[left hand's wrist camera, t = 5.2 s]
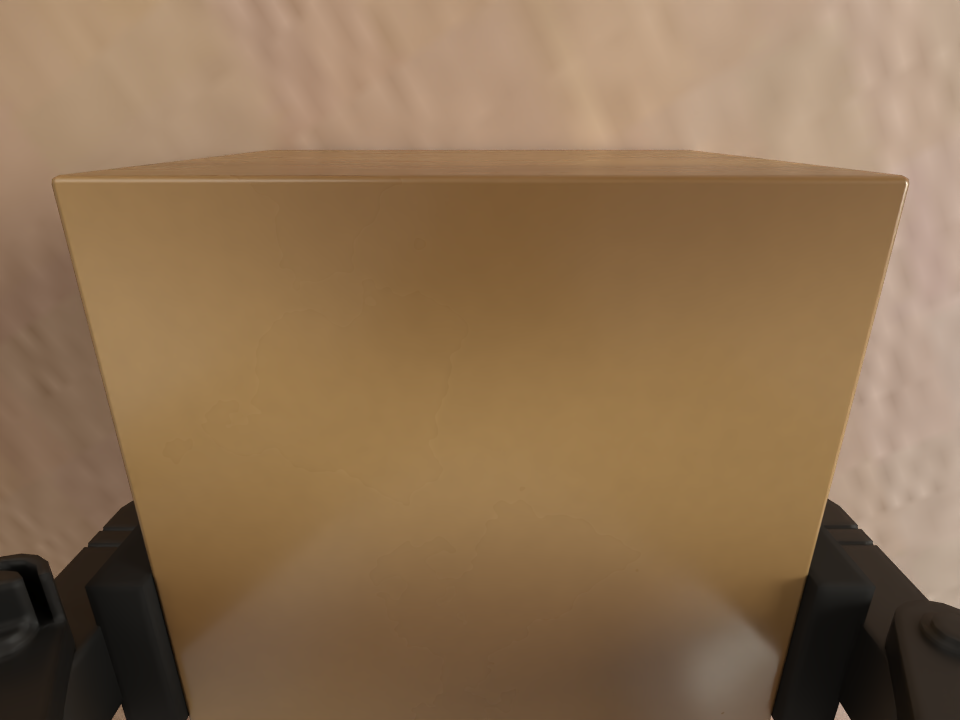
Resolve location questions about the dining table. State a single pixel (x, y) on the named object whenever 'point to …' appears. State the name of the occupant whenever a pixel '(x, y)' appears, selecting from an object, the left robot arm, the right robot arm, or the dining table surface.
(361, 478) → the slab
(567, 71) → the dining table surface
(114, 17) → the dining table surface
